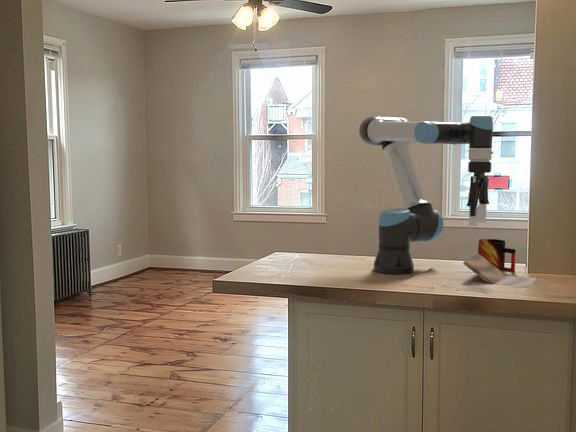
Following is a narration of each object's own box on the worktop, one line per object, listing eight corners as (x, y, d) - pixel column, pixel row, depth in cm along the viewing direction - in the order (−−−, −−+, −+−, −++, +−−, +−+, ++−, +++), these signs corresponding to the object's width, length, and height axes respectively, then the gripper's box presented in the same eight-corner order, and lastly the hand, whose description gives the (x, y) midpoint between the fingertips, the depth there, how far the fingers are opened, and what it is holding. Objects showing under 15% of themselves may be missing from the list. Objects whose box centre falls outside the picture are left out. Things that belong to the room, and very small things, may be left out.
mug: (514, 276, 221) (515, 243, 220) (475, 273, 228) (476, 241, 226) (517, 272, 230) (518, 240, 229) (479, 268, 236) (480, 238, 235)
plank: (463, 263, 205) (465, 260, 205) (476, 256, 220) (478, 253, 220) (492, 286, 201) (494, 284, 200) (503, 277, 216) (506, 275, 215)
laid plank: (495, 287, 200) (495, 284, 200) (506, 278, 215) (506, 275, 215) (527, 291, 195) (527, 287, 195) (536, 281, 210) (537, 278, 210)
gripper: (482, 161, 196) (480, 228, 199) (498, 161, 217) (496, 221, 219) (459, 161, 200) (457, 226, 202) (477, 160, 220) (475, 220, 223)
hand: (477, 224), depth 211 cm, fingers open, 11 cm apart
